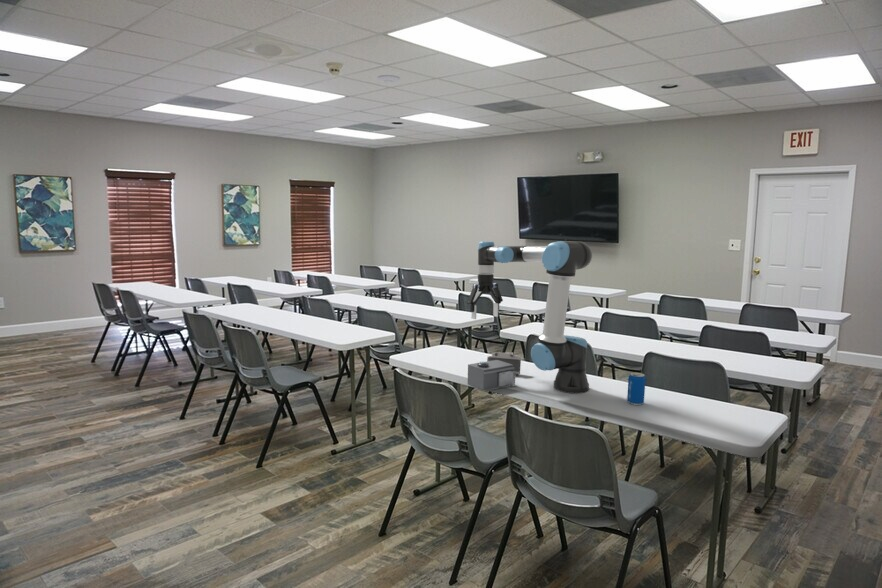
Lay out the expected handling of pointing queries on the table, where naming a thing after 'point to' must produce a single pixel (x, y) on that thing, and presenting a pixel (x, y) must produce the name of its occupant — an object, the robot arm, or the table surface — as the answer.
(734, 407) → the table surface
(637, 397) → the beverage can
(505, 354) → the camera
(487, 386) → the sliding door box
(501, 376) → the side door
